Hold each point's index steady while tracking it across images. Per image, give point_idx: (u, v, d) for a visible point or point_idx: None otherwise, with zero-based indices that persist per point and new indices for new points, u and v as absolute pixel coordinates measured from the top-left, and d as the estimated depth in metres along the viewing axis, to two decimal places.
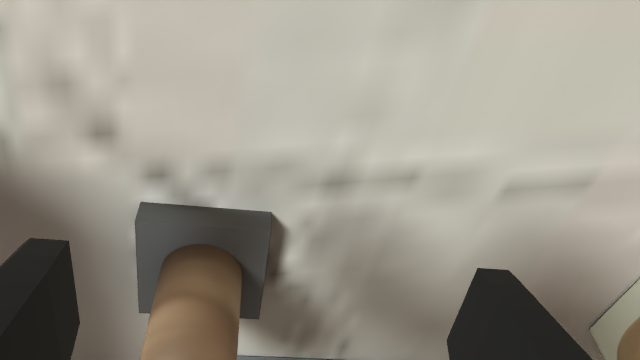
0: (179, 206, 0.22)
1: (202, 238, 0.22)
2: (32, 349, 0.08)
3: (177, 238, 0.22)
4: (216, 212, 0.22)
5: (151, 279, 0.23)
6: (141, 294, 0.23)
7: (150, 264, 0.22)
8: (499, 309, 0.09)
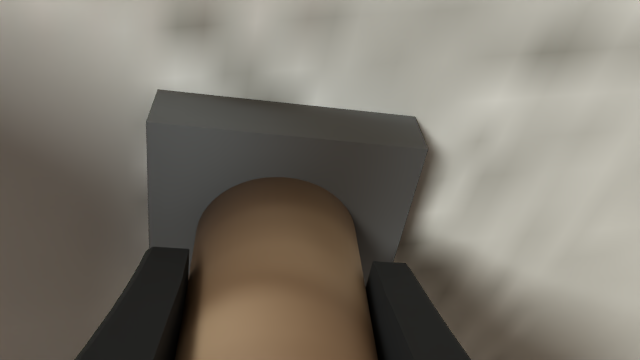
0: (236, 101, 0.11)
1: (286, 164, 0.10)
2: (170, 355, 0.08)
3: (234, 163, 0.10)
4: (311, 114, 0.11)
5: None
6: None
7: (176, 221, 0.11)
8: (384, 303, 0.09)
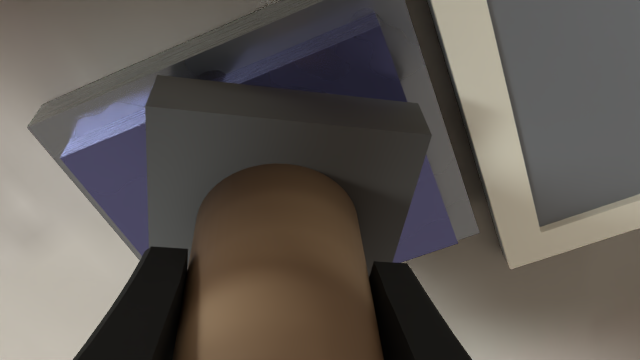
0: (237, 87, 0.11)
1: (287, 150, 0.10)
2: (168, 355, 0.08)
3: (235, 149, 0.10)
4: (312, 100, 0.11)
5: (176, 241, 0.11)
6: None
7: (175, 208, 0.11)
8: (386, 303, 0.09)
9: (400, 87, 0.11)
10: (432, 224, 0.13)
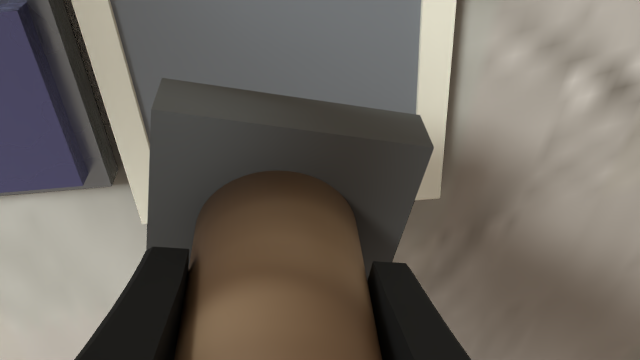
0: (242, 92, 0.11)
1: (291, 157, 0.10)
2: (169, 355, 0.08)
3: (239, 155, 0.10)
4: (316, 108, 0.11)
5: (174, 244, 0.11)
6: None
7: (175, 212, 0.11)
8: (385, 303, 0.09)
9: (33, 57, 0.16)
10: (61, 166, 0.18)
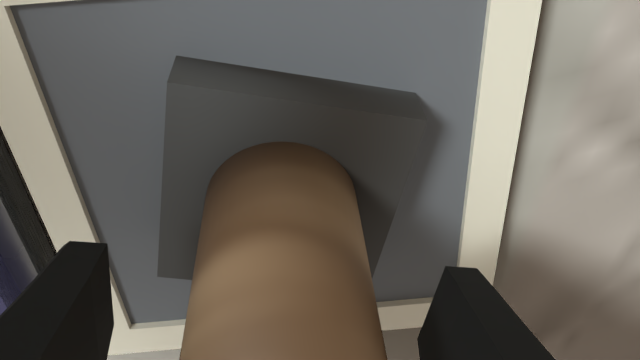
0: (250, 69, 0.11)
1: (295, 129, 0.11)
2: (76, 351, 0.08)
3: (247, 126, 0.11)
4: (319, 84, 0.12)
5: (186, 212, 0.12)
6: (165, 241, 0.13)
7: (188, 180, 0.12)
8: (464, 307, 0.09)
9: None
10: None
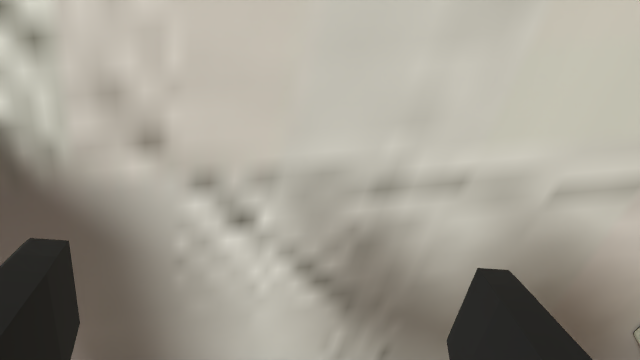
0: None
1: None
2: (32, 349, 0.08)
3: None
4: None
5: None
6: None
7: None
8: (499, 309, 0.09)
9: None
10: None
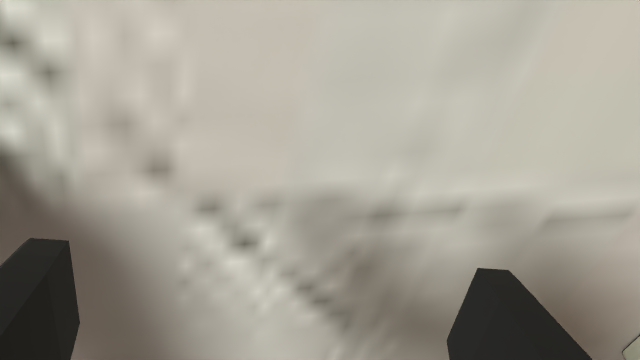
0: None
1: None
2: (32, 349, 0.08)
3: None
4: None
5: None
6: None
7: None
8: (499, 309, 0.09)
9: None
10: None
